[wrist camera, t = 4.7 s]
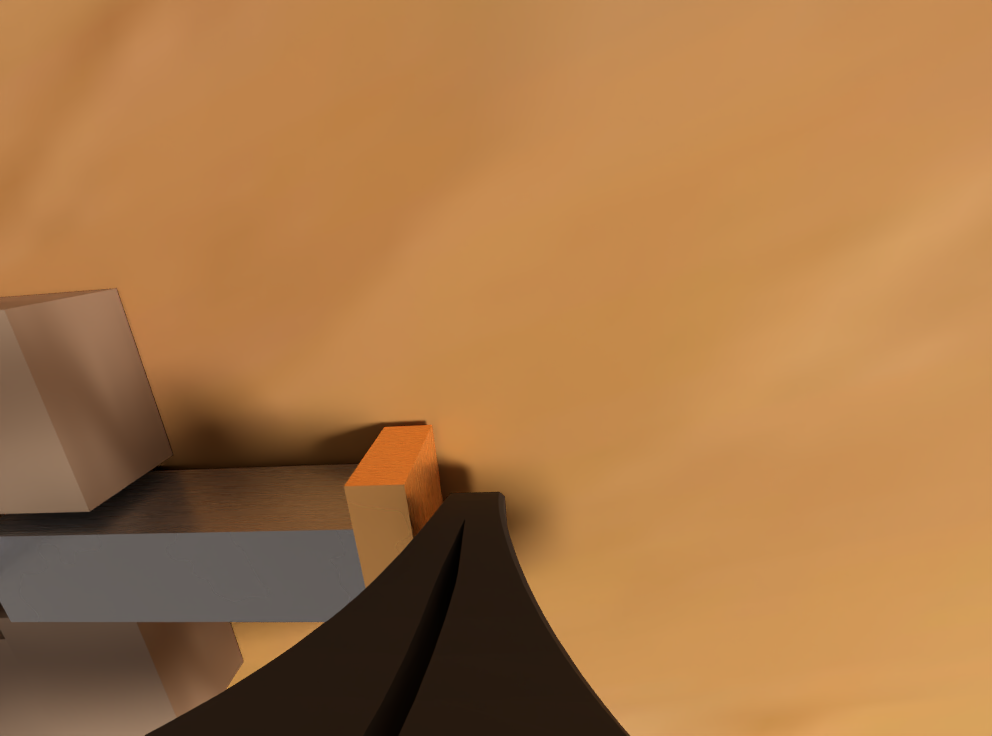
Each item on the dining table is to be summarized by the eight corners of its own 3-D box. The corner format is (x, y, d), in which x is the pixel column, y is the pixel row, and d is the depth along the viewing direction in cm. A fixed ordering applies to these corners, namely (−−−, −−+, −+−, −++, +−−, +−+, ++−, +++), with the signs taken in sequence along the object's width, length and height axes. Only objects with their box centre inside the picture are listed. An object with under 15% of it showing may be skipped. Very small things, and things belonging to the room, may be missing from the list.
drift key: (452, 570, 13) (432, 656, 10) (118, 574, 14) (28, 653, 11) (432, 424, 11) (403, 484, 9) (62, 440, 12) (-55, 497, 10)
